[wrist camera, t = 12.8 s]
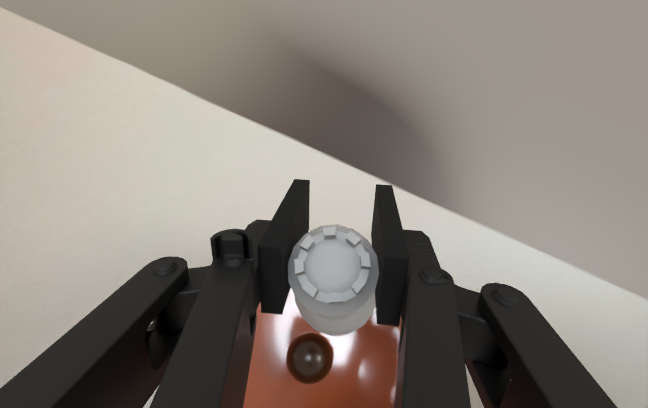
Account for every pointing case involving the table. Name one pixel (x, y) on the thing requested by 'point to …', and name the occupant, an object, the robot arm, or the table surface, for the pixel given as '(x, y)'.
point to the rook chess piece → (334, 279)
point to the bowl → (344, 376)
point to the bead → (309, 358)
